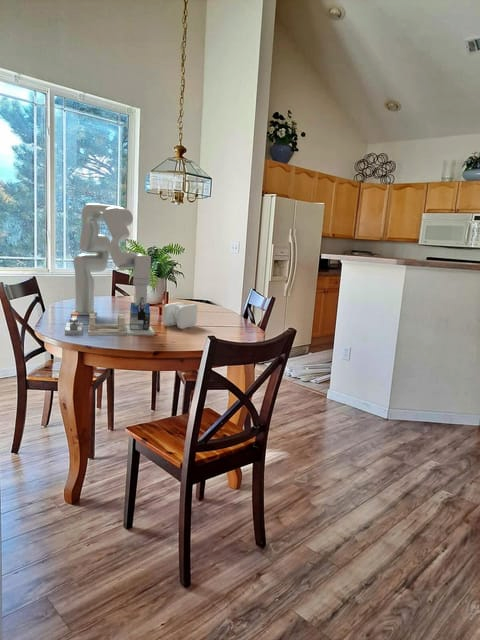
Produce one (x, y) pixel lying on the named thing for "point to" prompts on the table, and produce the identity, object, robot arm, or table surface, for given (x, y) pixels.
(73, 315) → the lever
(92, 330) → the holder
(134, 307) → the blue box
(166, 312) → the cable organizer
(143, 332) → the tray
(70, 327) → the base
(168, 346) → the table surface
